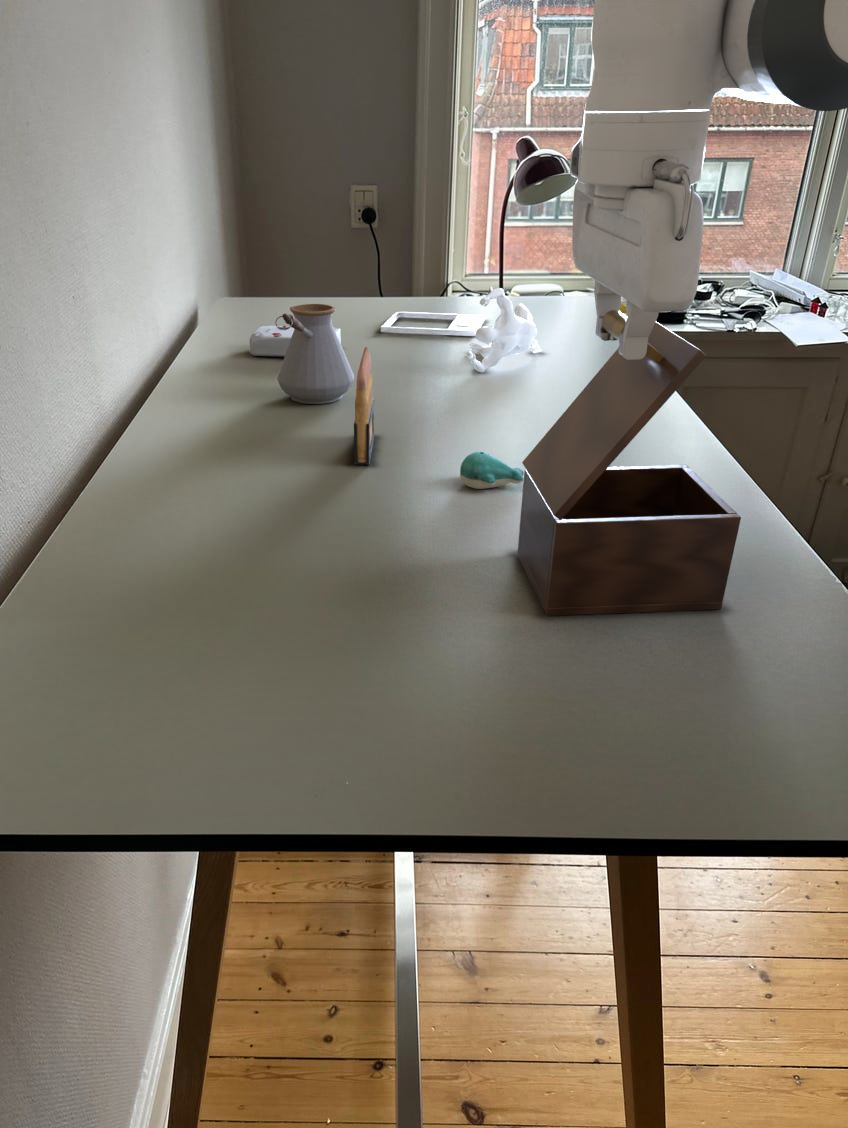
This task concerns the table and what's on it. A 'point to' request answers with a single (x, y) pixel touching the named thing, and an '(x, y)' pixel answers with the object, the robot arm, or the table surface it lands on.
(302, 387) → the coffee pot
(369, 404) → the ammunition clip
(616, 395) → the compartment lid
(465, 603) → the table surface
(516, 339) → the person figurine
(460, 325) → the photo frame
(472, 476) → the whale figurine
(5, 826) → the table surface
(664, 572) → the compartment
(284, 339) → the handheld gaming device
